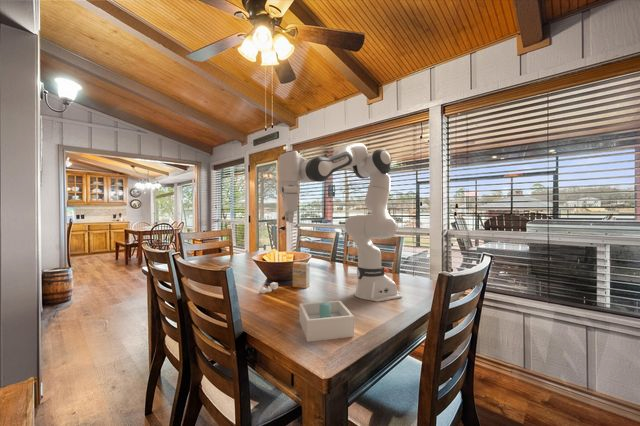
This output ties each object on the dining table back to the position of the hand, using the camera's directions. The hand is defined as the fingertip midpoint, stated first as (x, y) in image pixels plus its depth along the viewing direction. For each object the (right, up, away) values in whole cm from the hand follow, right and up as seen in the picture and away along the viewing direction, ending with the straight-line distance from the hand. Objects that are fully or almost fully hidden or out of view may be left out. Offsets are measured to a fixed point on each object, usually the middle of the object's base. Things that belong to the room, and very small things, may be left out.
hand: (289, 222), depth 121 cm
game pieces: (-13, -37, +26) cm, 47 cm away
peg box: (+15, -38, -18) cm, 44 cm away
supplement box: (+3, -36, +33) cm, 49 cm away
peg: (+15, -38, -18) cm, 44 cm away
